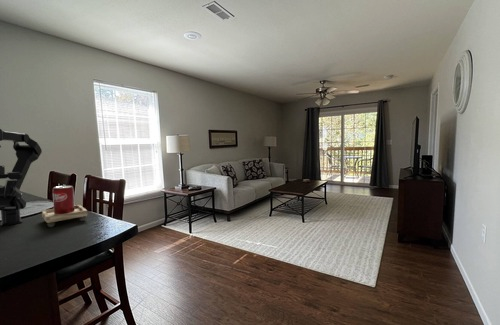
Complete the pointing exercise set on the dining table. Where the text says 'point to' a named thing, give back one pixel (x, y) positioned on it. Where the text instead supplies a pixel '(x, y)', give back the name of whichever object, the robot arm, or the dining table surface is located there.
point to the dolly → (63, 215)
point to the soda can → (63, 199)
